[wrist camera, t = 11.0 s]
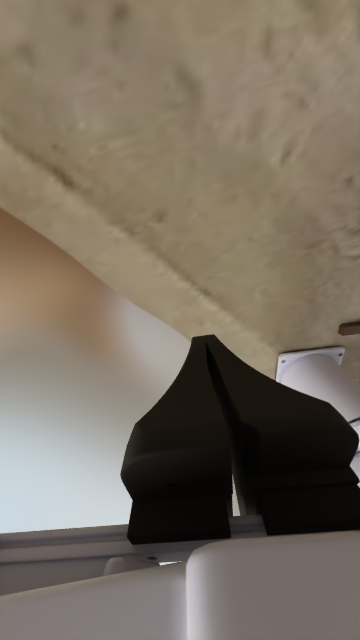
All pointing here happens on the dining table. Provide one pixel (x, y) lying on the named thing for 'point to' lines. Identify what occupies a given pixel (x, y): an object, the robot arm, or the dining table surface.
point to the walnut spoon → (349, 329)
